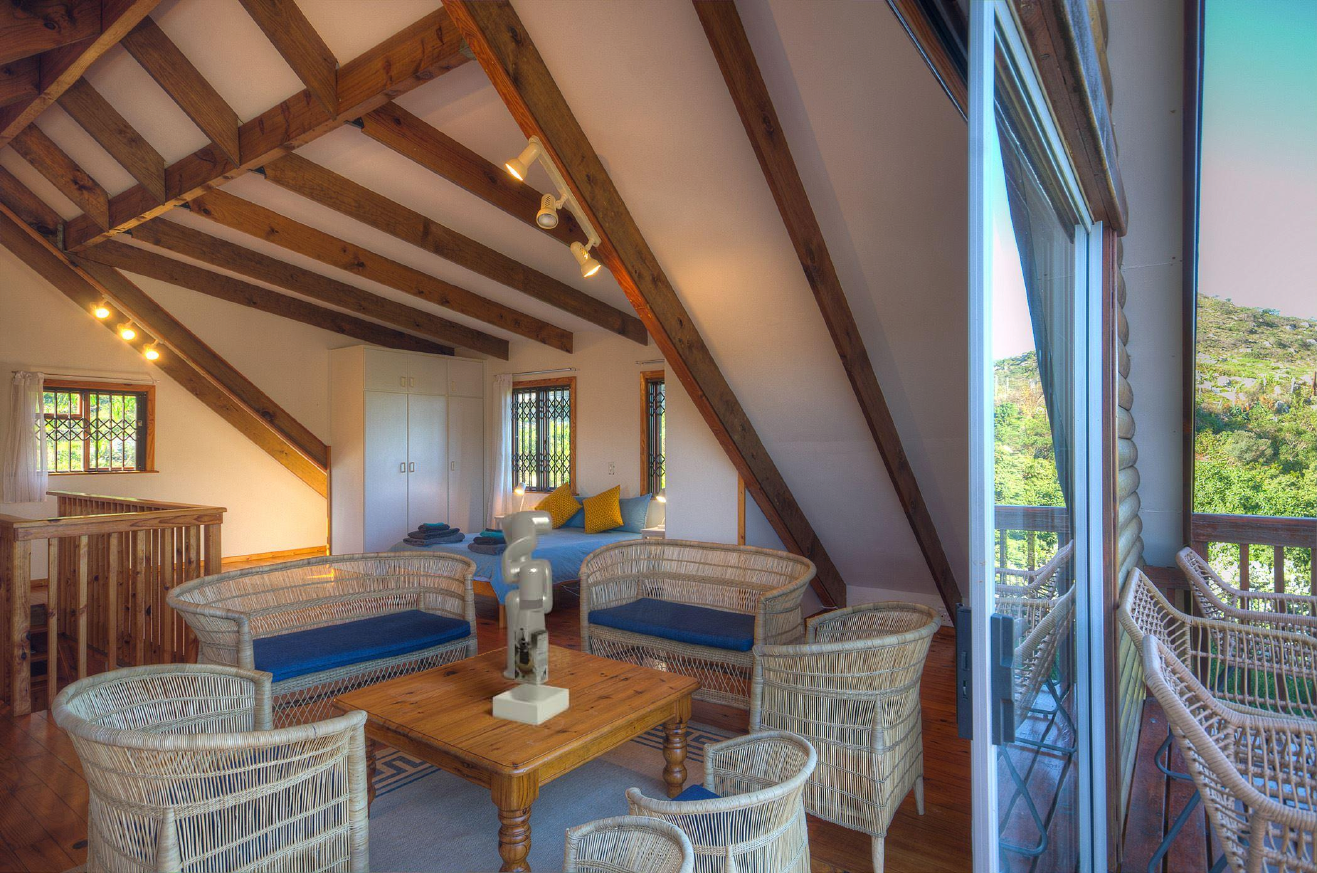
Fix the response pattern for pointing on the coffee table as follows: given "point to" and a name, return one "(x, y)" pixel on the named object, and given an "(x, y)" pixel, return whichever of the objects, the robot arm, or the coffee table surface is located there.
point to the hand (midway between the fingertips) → (531, 660)
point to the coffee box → (533, 660)
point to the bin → (531, 703)
